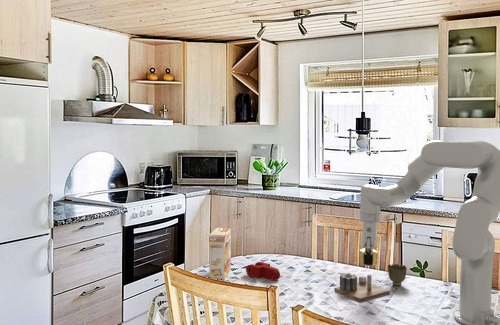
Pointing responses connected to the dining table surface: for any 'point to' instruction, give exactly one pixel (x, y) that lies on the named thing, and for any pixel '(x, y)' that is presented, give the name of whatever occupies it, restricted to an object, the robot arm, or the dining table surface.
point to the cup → (397, 274)
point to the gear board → (359, 287)
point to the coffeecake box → (220, 253)
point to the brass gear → (373, 257)
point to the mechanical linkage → (263, 271)
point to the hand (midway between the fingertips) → (368, 261)
